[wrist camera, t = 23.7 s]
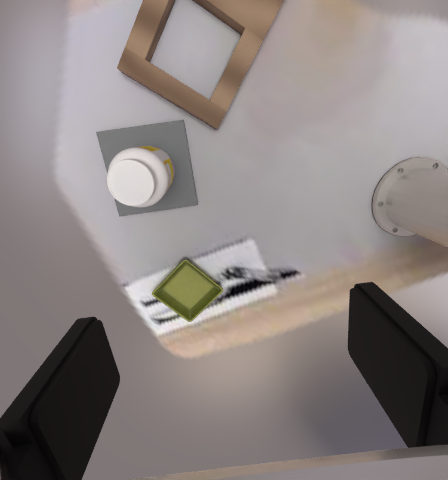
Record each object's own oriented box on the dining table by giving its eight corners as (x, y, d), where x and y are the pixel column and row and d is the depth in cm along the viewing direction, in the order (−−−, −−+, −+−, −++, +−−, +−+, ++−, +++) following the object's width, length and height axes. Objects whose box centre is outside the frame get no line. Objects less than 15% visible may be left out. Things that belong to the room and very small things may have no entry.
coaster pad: (183, 120, 38) (183, 119, 37) (197, 204, 42) (197, 204, 42) (97, 132, 38) (96, 132, 37) (120, 215, 42) (119, 216, 41)
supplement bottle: (118, 168, 39) (81, 180, 27) (150, 135, 38) (126, 132, 26) (153, 202, 41) (133, 227, 29) (184, 171, 40) (177, 185, 28)
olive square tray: (223, 284, 48) (224, 290, 46) (190, 316, 49) (190, 323, 48) (186, 253, 45) (185, 258, 43) (152, 287, 47) (150, 294, 45)
